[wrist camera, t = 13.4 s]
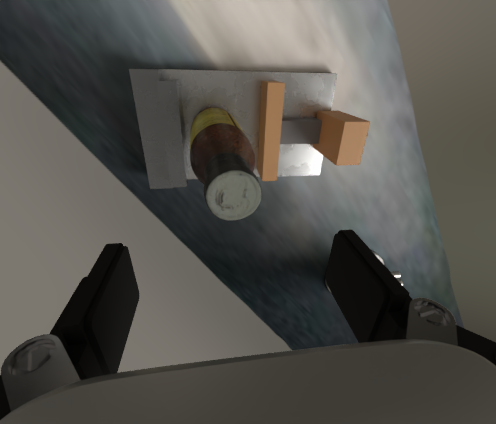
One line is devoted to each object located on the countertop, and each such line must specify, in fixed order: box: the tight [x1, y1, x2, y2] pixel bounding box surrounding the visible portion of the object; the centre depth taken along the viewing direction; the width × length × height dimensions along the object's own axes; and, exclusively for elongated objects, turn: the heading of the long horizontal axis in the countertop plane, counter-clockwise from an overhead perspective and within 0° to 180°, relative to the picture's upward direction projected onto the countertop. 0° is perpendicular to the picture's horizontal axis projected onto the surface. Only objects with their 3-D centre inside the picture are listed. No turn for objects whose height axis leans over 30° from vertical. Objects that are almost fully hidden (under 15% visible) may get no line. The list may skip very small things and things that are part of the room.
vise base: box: [129, 69, 337, 189], centre depth 34 cm, size 25×14×6 cm, turn 88°
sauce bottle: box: [190, 107, 262, 220], centre depth 26 cm, size 7×6×20 cm
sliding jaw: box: [257, 81, 370, 181], centre depth 33 cm, size 11×12×8 cm
